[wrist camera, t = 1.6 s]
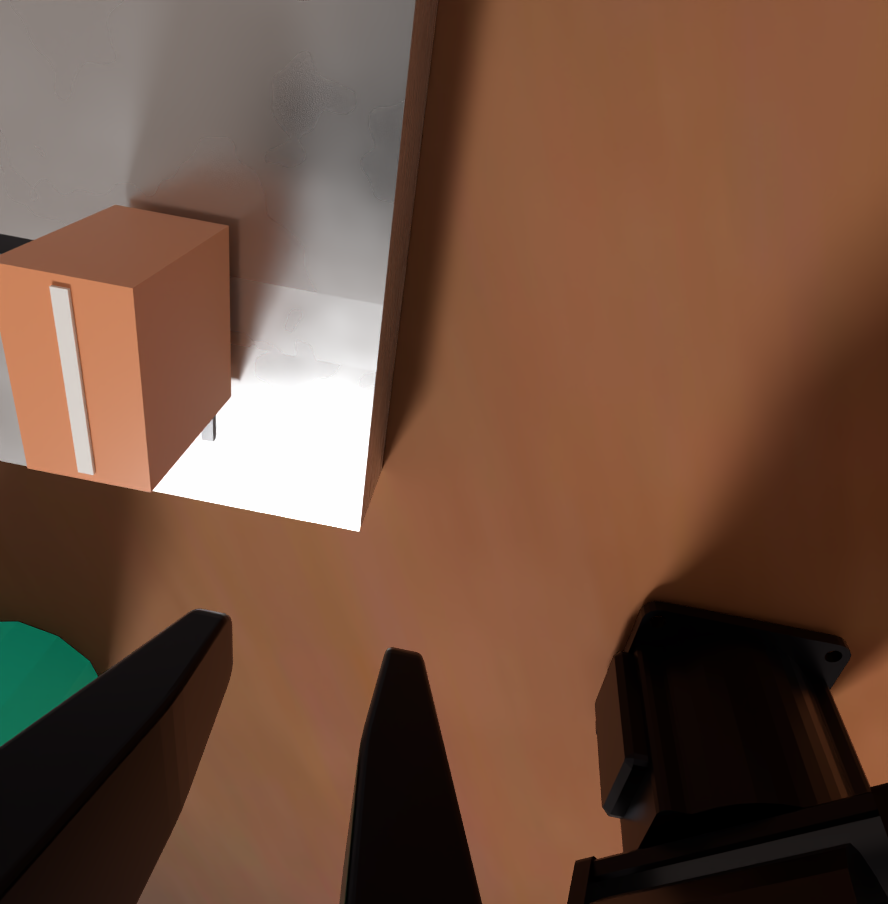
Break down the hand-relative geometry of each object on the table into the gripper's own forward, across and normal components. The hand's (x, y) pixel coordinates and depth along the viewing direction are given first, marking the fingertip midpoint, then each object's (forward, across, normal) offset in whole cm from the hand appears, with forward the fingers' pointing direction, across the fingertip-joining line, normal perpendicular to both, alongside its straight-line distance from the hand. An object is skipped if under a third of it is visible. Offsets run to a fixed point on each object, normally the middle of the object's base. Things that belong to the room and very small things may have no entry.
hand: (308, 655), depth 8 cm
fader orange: (+12, +6, 0) cm, 13 cm away
